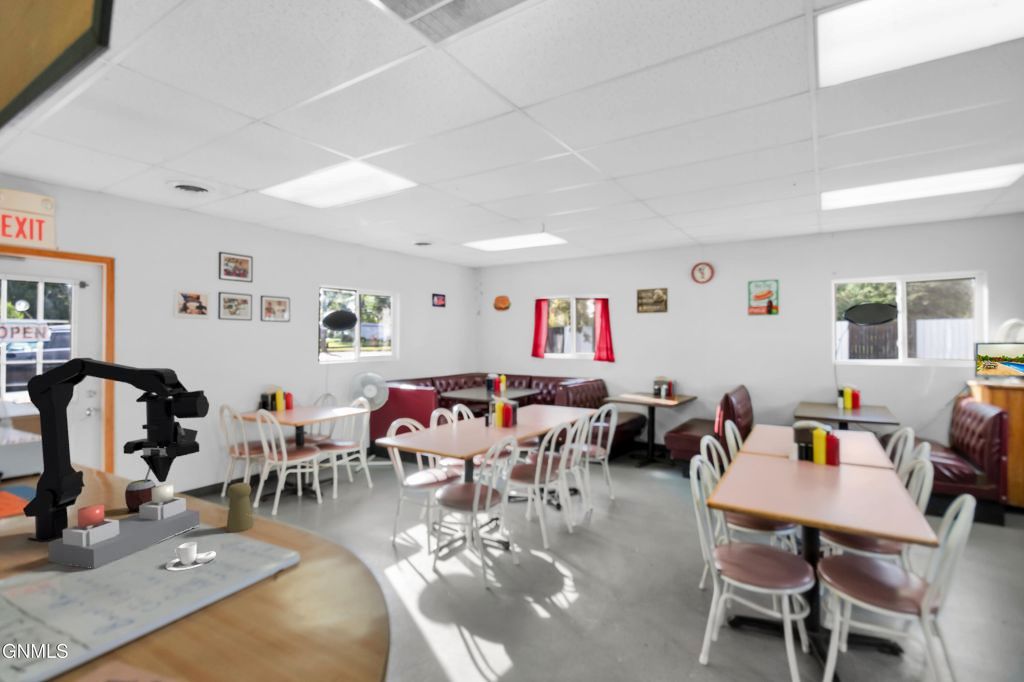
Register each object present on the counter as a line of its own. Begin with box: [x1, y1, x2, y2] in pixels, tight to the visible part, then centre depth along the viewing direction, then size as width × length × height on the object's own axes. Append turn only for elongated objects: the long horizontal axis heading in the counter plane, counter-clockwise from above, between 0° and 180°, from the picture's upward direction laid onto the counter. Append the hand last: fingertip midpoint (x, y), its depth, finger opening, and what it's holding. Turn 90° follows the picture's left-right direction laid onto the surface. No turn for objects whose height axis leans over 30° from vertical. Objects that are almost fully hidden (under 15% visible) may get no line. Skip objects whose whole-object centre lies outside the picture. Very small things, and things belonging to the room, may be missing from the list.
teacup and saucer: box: [165, 541, 217, 572], centre depth 105 cm, size 9×8×4 cm
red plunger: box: [77, 504, 105, 527], centre depth 109 cm, size 4×4×3 cm
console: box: [48, 496, 200, 569], centre depth 116 cm, size 14×24×7 cm, turn 162°
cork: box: [225, 482, 254, 533], centre depth 124 cm, size 6×6×11 cm
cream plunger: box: [152, 484, 175, 503], centre depth 124 cm, size 4×4×3 cm
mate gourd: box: [124, 466, 157, 514], centre depth 140 cm, size 8×8×15 cm
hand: (162, 481), depth 124 cm, fingers closed
